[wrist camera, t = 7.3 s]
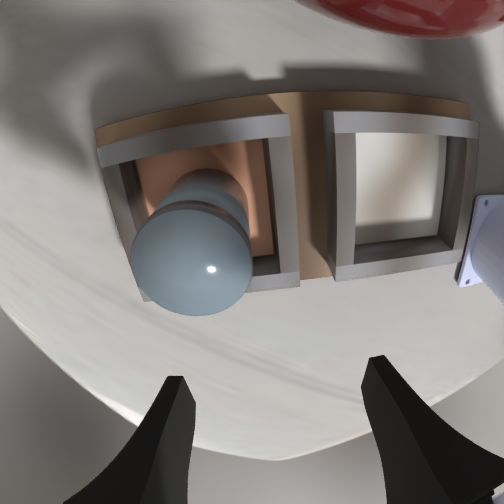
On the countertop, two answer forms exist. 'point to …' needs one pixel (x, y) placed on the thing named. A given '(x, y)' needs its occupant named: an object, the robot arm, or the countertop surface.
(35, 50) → the countertop surface
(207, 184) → the grey plastic cylinder
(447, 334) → the countertop surface
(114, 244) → the countertop surface
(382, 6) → the round-bottom flask
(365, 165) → the caddy
